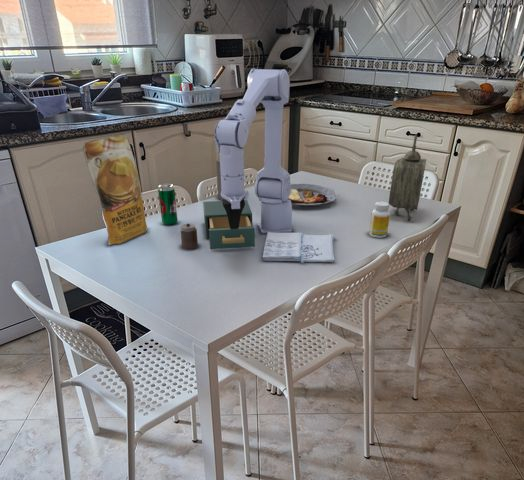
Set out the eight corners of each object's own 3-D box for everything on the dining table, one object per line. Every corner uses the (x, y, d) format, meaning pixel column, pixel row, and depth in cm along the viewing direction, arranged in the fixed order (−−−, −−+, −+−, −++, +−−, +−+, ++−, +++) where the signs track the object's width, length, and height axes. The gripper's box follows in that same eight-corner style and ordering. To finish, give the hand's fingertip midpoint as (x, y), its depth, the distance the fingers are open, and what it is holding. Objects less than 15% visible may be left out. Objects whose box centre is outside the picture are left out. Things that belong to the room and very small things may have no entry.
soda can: (174, 226, 154) (170, 188, 147) (159, 225, 155) (155, 187, 148) (180, 221, 158) (176, 183, 151) (165, 220, 159) (161, 182, 152)
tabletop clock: (414, 224, 155) (428, 140, 141) (385, 221, 158) (397, 139, 144) (417, 210, 166) (431, 132, 152) (390, 207, 169) (401, 130, 155)
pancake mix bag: (94, 244, 141) (73, 142, 126) (139, 225, 155) (125, 130, 139) (111, 249, 138) (91, 145, 123) (155, 229, 152) (143, 132, 136)
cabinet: (252, 236, 146) (252, 213, 142) (206, 239, 145) (204, 215, 141) (247, 221, 157) (246, 199, 153) (204, 223, 156) (203, 201, 152)
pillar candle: (217, 194, 183) (215, 152, 174) (243, 193, 184) (242, 151, 175) (218, 201, 175) (215, 158, 166) (245, 200, 176) (244, 157, 167)
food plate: (339, 211, 166) (340, 200, 164) (271, 210, 166) (271, 200, 164) (331, 190, 187) (332, 180, 185) (271, 190, 187) (271, 180, 185)
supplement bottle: (365, 233, 149) (369, 201, 143) (380, 230, 150) (385, 199, 145) (374, 239, 144) (379, 207, 139) (390, 236, 146) (395, 205, 140)
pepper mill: (188, 242, 142) (186, 219, 138) (201, 245, 140) (199, 222, 137) (178, 247, 139) (176, 224, 135) (191, 250, 137) (189, 227, 133)
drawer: (256, 252, 134) (256, 233, 131) (211, 254, 133) (209, 235, 130) (249, 231, 148) (249, 213, 144) (208, 233, 146) (206, 215, 143)
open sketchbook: (267, 236, 146) (267, 229, 145) (334, 238, 145) (335, 231, 143) (261, 262, 131) (261, 254, 129) (336, 265, 129) (336, 257, 128)
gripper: (252, 181, 112) (252, 237, 120) (245, 166, 124) (246, 218, 132) (221, 182, 111) (224, 238, 119) (217, 167, 123) (220, 219, 131)
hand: (234, 228), depth 125 cm, fingers closed
